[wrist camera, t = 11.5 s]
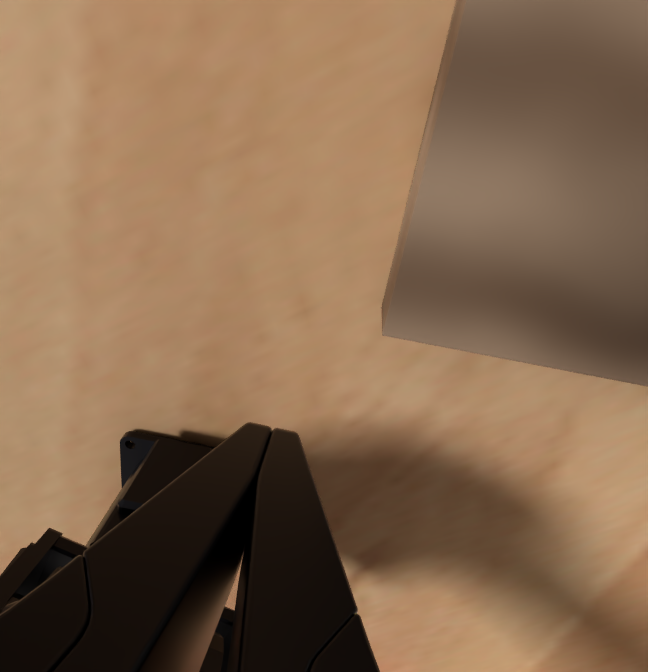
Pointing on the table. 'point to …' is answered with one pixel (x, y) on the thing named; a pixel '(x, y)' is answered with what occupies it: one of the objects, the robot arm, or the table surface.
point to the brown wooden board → (533, 191)
